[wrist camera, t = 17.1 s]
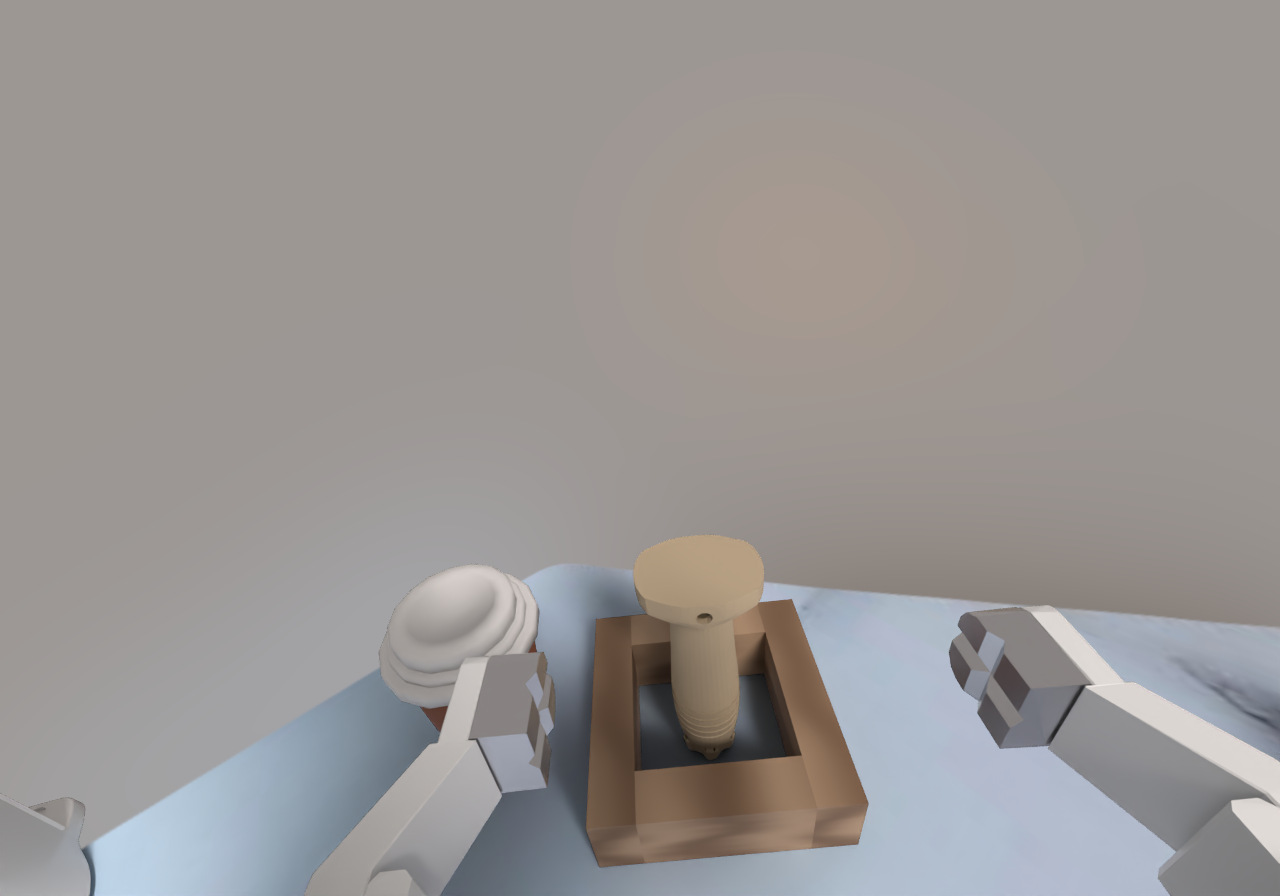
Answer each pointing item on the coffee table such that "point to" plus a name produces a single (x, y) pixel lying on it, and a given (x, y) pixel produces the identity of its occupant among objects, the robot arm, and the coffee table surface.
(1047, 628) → the robot arm
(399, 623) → the coffee cup
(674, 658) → the handle
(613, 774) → the socket block
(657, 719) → the coffee table surface
